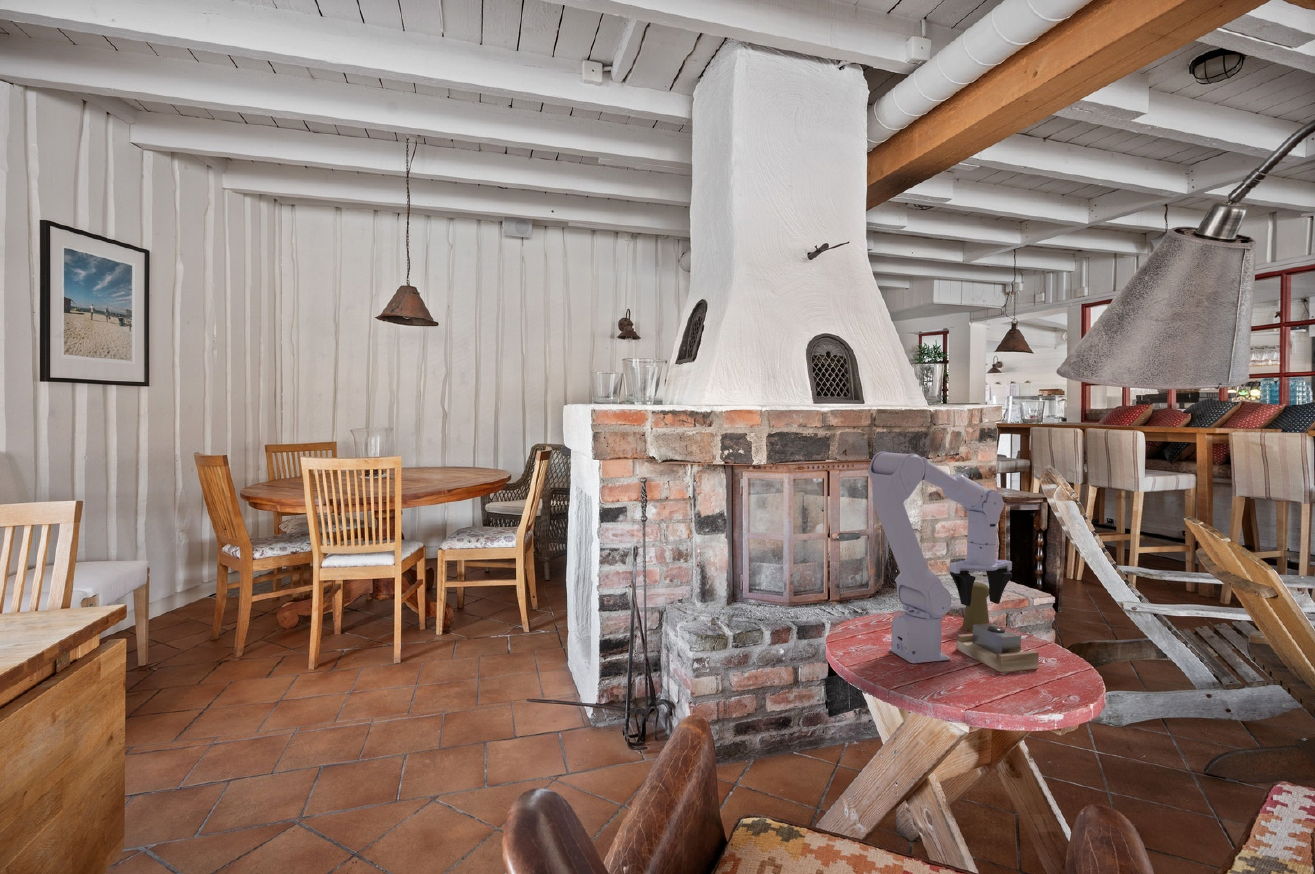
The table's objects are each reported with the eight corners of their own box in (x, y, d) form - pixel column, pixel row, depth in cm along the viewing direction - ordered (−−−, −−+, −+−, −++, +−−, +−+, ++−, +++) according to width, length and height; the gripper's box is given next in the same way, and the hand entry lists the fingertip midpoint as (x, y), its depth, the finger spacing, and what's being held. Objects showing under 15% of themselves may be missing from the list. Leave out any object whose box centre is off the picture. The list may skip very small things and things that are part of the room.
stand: (1038, 668, 125) (1038, 652, 125) (1000, 672, 123) (1001, 656, 123) (991, 646, 137) (991, 631, 137) (956, 649, 135) (956, 634, 135)
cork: (995, 632, 146) (996, 586, 145) (969, 632, 146) (970, 586, 145) (982, 624, 152) (983, 579, 151) (957, 623, 152) (958, 579, 151)
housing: (972, 643, 133) (973, 623, 133) (990, 641, 134) (991, 621, 134) (1001, 656, 125) (1002, 635, 125) (1020, 655, 126) (1021, 634, 126)
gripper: (966, 547, 131) (965, 611, 131) (1023, 544, 134) (1022, 606, 135) (943, 540, 138) (942, 601, 138) (998, 538, 141) (996, 597, 141)
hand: (980, 603), depth 137 cm, fingers open, 7 cm apart
